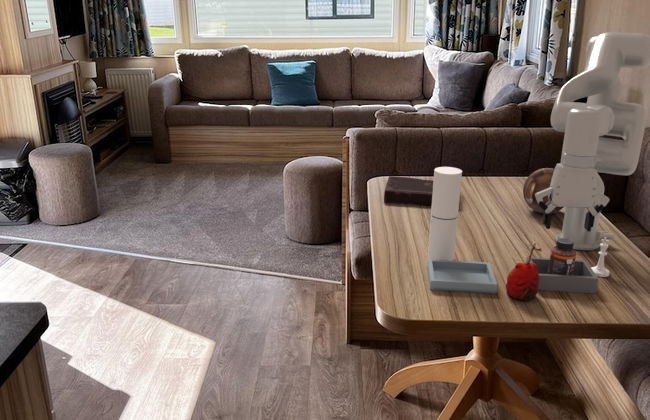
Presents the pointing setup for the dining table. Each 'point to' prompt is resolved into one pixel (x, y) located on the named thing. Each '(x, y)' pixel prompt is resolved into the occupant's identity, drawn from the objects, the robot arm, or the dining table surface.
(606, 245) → the chess piece
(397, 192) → the diary
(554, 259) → the supplement bottle
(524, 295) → the red clay folk toy
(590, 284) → the dock
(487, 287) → the tray
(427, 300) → the dining table surface
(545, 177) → the reflective sphere
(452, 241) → the cylindrical container
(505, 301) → the dining table surface
